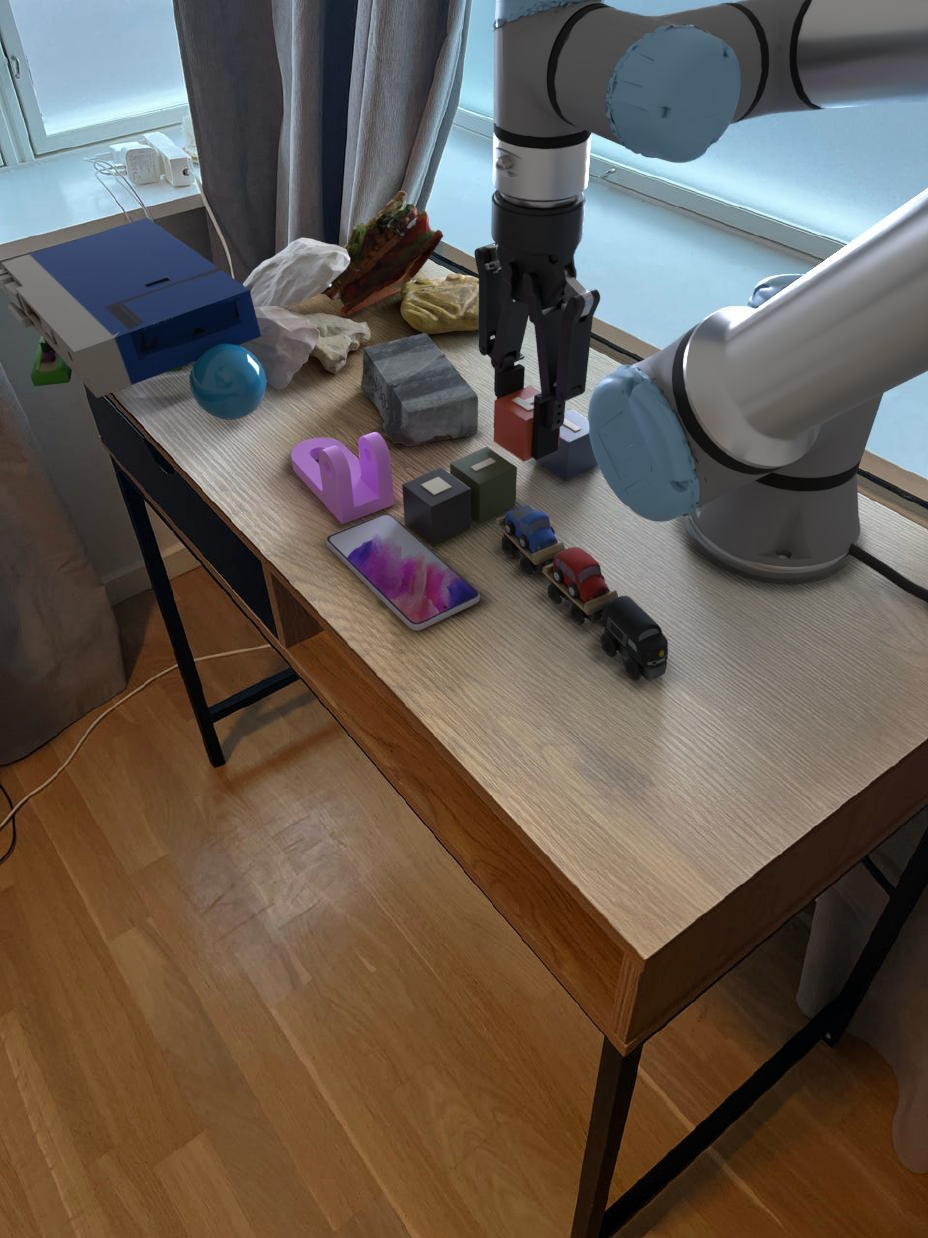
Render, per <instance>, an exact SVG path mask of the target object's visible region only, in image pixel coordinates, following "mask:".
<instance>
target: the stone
mask: <svg viewBox="0 0 928 1238" xmlns="http://www.w3.org/2000/svg"><path fill="white" fill-rule="evenodd" d="M286 310H288V312H290V313H291V314H293V315H296V316H298V317H300V318H303V319H307V321H308V323H309V324H311V325H313V326H314V327H315V328H316V329H318V330H319V332H320V335H319V341H318V343H317V344H315V346H314V349H313V350H312V351H311V352H310V353H309V357H315V358H316V359H318V360H319V361H320V363H321V364H322V366H323V367H324V370H325V371H328V372H329V373H331V374H333V375H334V374H337V373H339V371H340V370H341V369H342V368H343V367H344V366H345V365H346V363H347V357H348V353H349V352H353V351H358V349H359V348H360V347H361V345H360V344H364V343H366V342H370V340H371V330H370V328H369V326H368V324H367V322H366V321H362V322H356V321H353V320H352V319H350V318H344V317H341V316H337V315H334V314H326V313H323V312H313V313H308V314H303V313H299V312H298V311H295V310H294V309H291V308H286Z"/></svg>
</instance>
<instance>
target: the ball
mask: <svg viewBox="0 0 928 1238" xmlns="http://www.w3.org/2000/svg"><path fill="white" fill-rule="evenodd" d="M267 383H268V381H267V380H266V375H265V371H264V369H263V366H262V365H261V363H260V361H259V360H258V359H257V357H256V356H255V355H254V354H253V353H251V352H250V351H249V350H247V349H246V348H244V347H242V346H239V345H236V344H218V345H214V346H212V347H210V348H209V349H207V350H206V351H205V352H204V353H202V354H201V355H200V356H199V357H198V359H197V360H196V361H194V362H193V363H192V366H191V369H190V373H189V387H190V388H189V389H190V392H191V394H192V398H193V399H194V401H195V402H196V404H197V405H198V406H199V407H200V408H201V409H202V410H203V411H204V412H205V413H207V414H208V415H210V416H213V417H214V418H217V419H220V420H224V421H235V420H240V419H243V418H245V417H248V416H250V415H251V414H252V413H254V412H255V411H256V410H258V408H259V407H260V406H261V404H262V403H263V401H264V398H265V394H266V391H267Z"/></svg>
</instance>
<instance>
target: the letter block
mask: <svg viewBox="0 0 928 1238" xmlns="http://www.w3.org/2000/svg"><path fill="white" fill-rule="evenodd" d="M539 393H541V390H539V389H538V388H536V387H535V386H533V385H527V386H524V388H523V389H521V390H518V391H516V392H513V393H511V394H509V395H506V396H504V397H501V398H499V399H497V398H496V399H494V402H493V403H494V404H493V442H494V443H495V444H497V445H498V446H500V447H501V448H502V449H504V450H505V451H507V452H509V454H511V455H513V456H514V457H516V458H517V459H518V460H520V461H521V462H523V463H524V462H526V461H528V460H531V459H533V458H532V457H531V452H532V433H533V411H534V395H537V394H539ZM559 441H560V427H559V440H558V446H559Z"/></svg>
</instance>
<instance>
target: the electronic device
mask: <svg viewBox="0 0 928 1238" xmlns="http://www.w3.org/2000/svg"><path fill="white" fill-rule="evenodd" d="M1 265H2V267H3V269H0V290H2V291H3V293H4V294H5V295H8V298H9V300H10V302H8V305H7V308H8V311H9V312H10V313H11V314H12V315H13V317H14V318H15V319H16V320H17V321H18V322H19V324H20V325H21V326H22V327H24V329H28V328H31V327H33V328H34V329H35V331H37V333H38V334H39V335H40V336H42V337H43V338H44V339H45V340H46V341H47V342H48V344H49V345H50V346H51V347H52V348H53V349H54V350H55V351H56V353H57V354H58V355H59V356H60V357H61V358H62V359H63V360H64V362H65V363H66V364H67V365H68V366H69V367H70V368H71V370H72V372H73V373H74V374H75V375H76V377H78V379H79V380H80V381H81V382H82V383H83V384H84V386H85V387H86V388H87V389H88V390H89V391H90V392H91V394H93V396H94V397H95V398H96V399H99V398H102V397H104V396H106V395H109V394H112V393H114V392H115V393H116V392H117V391H120V390H122V389H125V388H128V387H131V386H133V385H136V384H138V383H141V382H144V381H146V380H149V379H152V378H154V377H157V376H159V375H160V376H161V375H162V374H165V373H169V372H168V371H170V370H173V369H176V368H178V367H181V366H182V367H183V366H187V365H188V364H193V363H194V362H195V361H196V360H197V359H198V357H199V356H200V355H201V354H202V353H204V352H205V351H206V350H207V349H209V348H210V347H212V346H214V345H218V344H236V345H240V344H242V343H245V342H248V341H250V340H253V339H256V338H258V337H261V333H260V330H259V326H258V321H257V317H256V313H255V309H254V305H253V301H252V297H251V293H250V290H249V289H248V288H246V287H245V286H244V285H243V283H241V282H240V281H238V280H237V279H235V278H234V277H232V276H231V275H230V274H228V273H227V272H225V271H224V270H223V269H221V268H219V267H218V266H217V265H216V264H214V263H212V262H211V261H210V260H208V259H207V258H206V257H204V256H202V254H199V252H196V250H194V249H193V248H191V247H190V246H188V245H187V244H185V243H184V242H183V241H181V240H180V239H179V238H177V237H175V236H174V235H173V234H171V233H170V232H169V231H167V230H165V228H163V227H162V226H160V225H158V224H157V223H156V222H154V220H152V219H150V218H149V217H145V218H142V219H138V220H135V221H131V222H128V223H126V224H123V225H119V226H116V227H113V228H109V229H106V230H102V231H101V232H100V231H99V232H96V233H93V234H90V235H87V236H83V237H80V238H77V239H74V240H71V241H67V242H64V243H61V244H58V245H53V246H50V247H47V248H45V249H41V250H37V251H35V252H32V253H29V254H25V255H22V256H18V257H15V258H12V259H9V260H5V261H2V262H1Z"/></svg>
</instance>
